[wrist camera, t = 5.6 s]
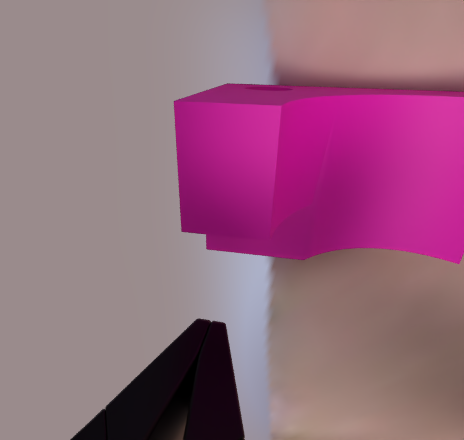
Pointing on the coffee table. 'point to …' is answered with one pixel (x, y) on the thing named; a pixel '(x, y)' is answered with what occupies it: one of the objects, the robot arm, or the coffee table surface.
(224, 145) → the toy block
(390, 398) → the coffee table surface
